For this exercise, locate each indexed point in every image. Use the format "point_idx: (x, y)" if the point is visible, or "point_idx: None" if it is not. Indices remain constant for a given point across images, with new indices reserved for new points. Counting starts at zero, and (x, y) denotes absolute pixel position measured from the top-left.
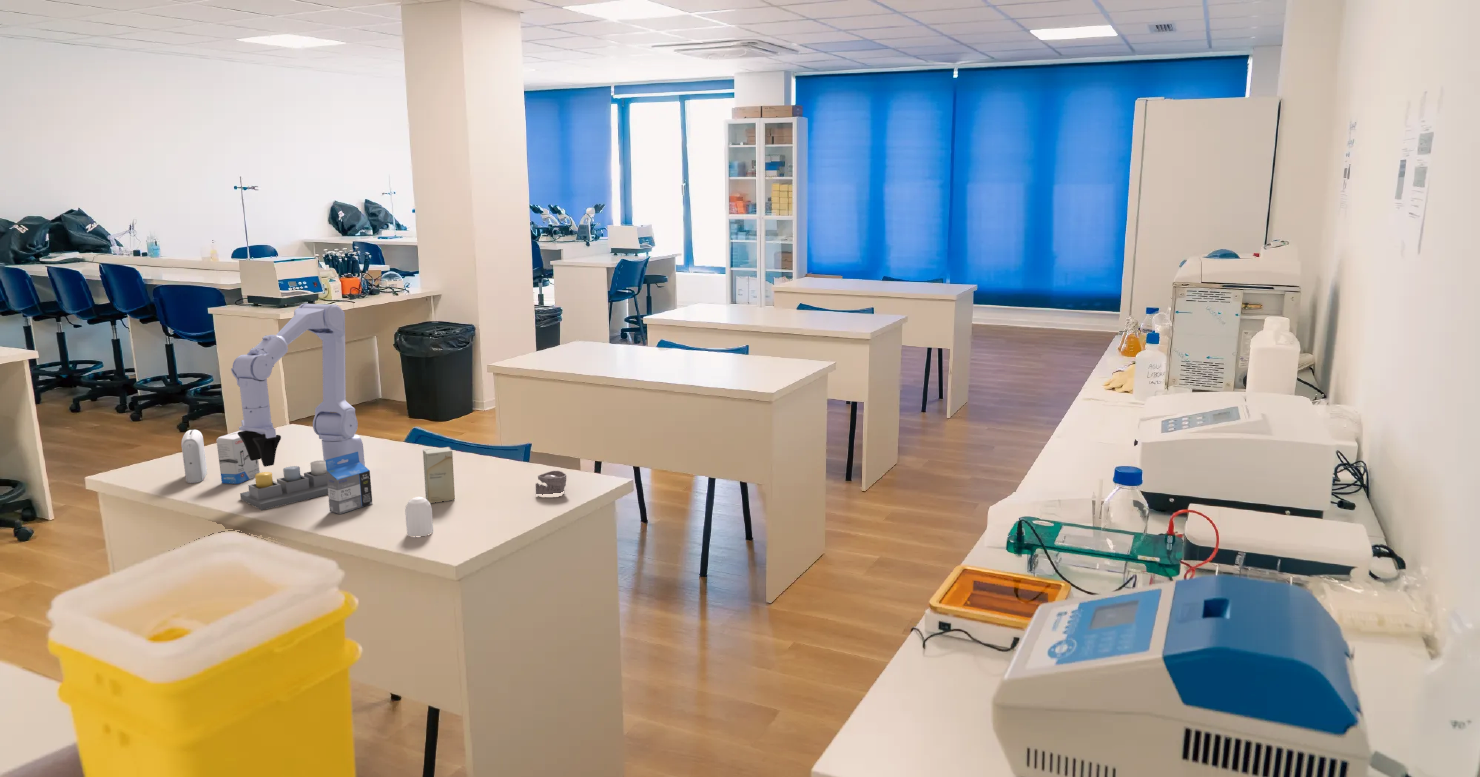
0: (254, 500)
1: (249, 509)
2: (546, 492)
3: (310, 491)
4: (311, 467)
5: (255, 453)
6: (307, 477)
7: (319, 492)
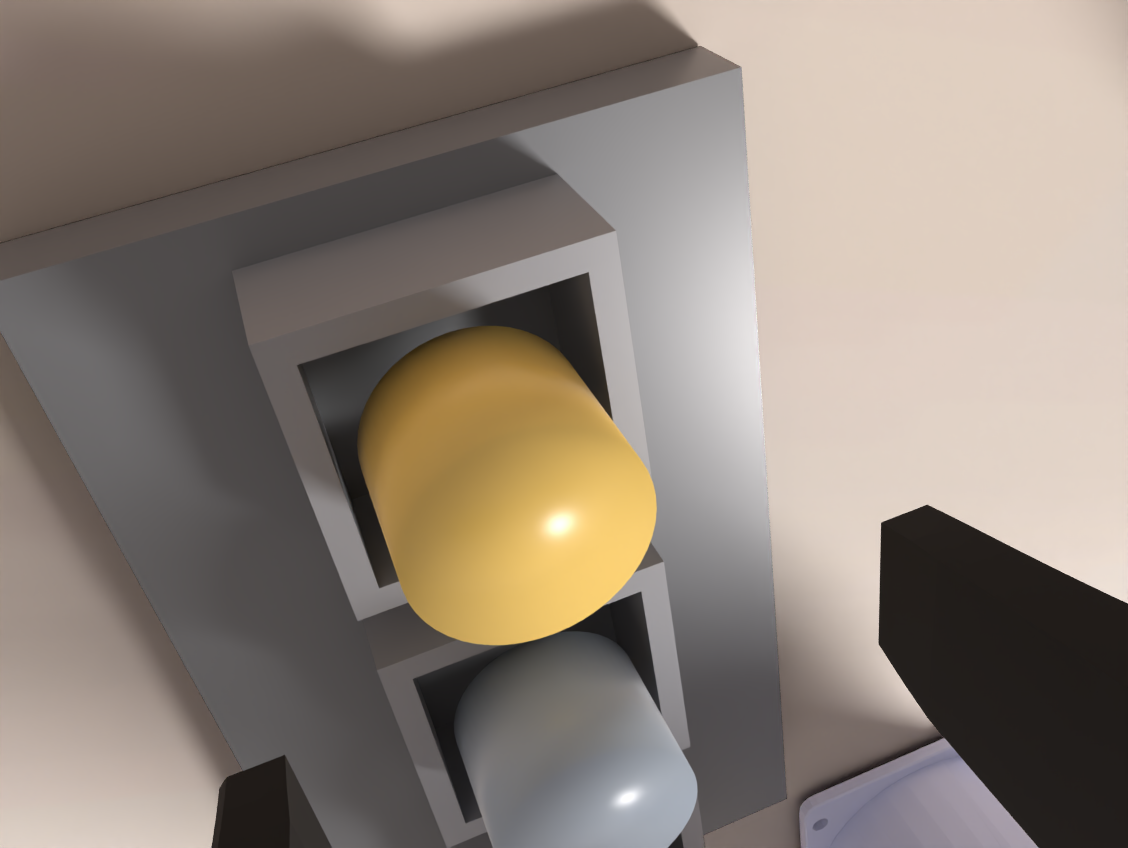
0: (239, 215)
1: (129, 96)
2: None
3: None
4: None
5: (967, 679)
6: None
7: None
